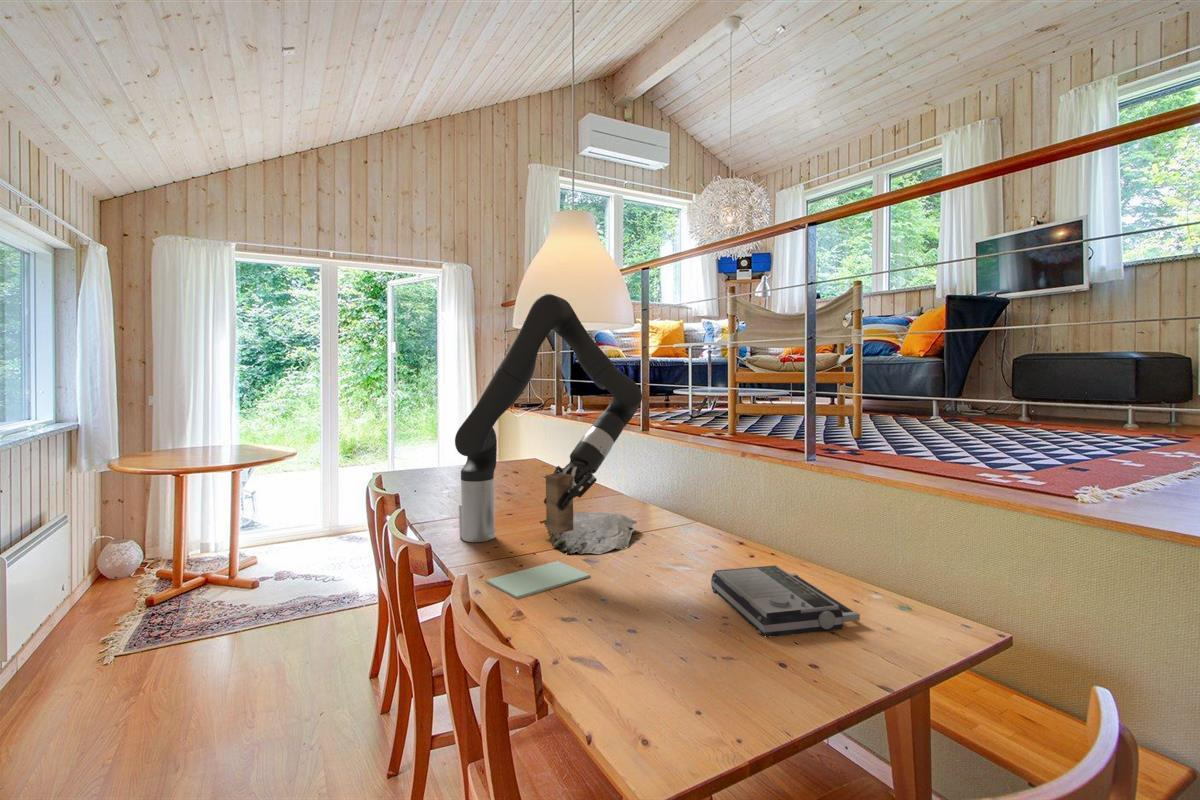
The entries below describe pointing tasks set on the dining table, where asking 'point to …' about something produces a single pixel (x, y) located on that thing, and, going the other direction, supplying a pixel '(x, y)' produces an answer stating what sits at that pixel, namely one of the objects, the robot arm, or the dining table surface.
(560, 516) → the walnut block
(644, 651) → the dining table surface
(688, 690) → the dining table surface
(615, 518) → the stone fragment
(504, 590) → the mat
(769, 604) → the radio
